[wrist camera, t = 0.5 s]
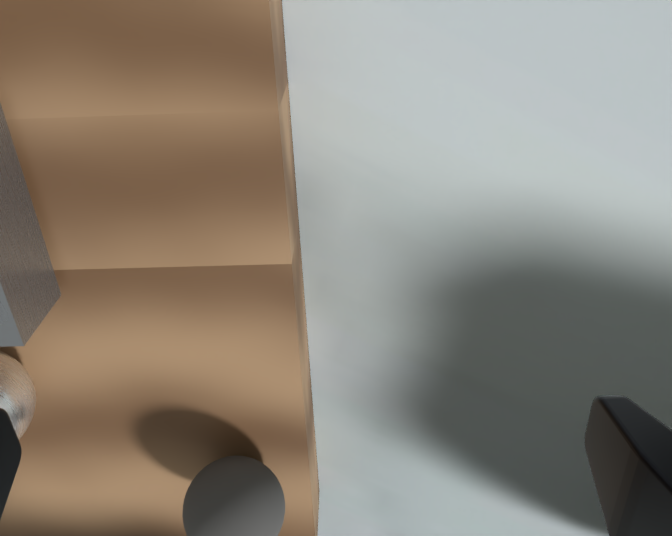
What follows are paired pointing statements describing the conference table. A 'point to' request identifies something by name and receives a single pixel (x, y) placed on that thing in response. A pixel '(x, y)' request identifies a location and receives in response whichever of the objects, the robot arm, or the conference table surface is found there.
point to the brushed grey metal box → (21, 253)
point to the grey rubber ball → (234, 500)
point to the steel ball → (16, 393)
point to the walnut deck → (157, 260)
